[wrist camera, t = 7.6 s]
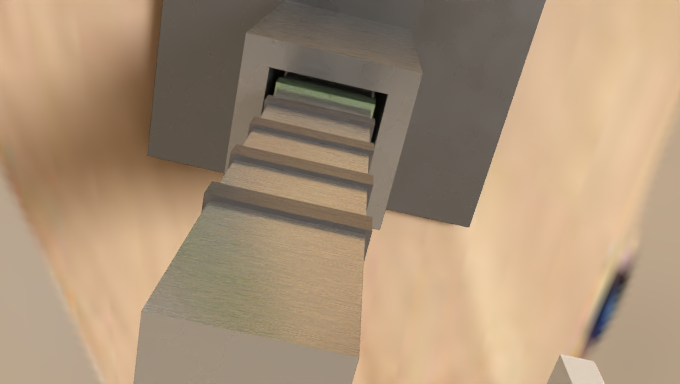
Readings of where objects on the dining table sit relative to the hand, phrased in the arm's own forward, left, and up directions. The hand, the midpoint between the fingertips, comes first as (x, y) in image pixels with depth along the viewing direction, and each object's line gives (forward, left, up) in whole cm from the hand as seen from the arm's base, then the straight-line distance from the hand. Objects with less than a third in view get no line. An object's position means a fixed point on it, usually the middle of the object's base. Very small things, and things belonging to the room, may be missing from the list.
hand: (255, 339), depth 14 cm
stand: (0, 0, -29) cm, 29 cm away
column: (0, 0, -20) cm, 20 cm away
